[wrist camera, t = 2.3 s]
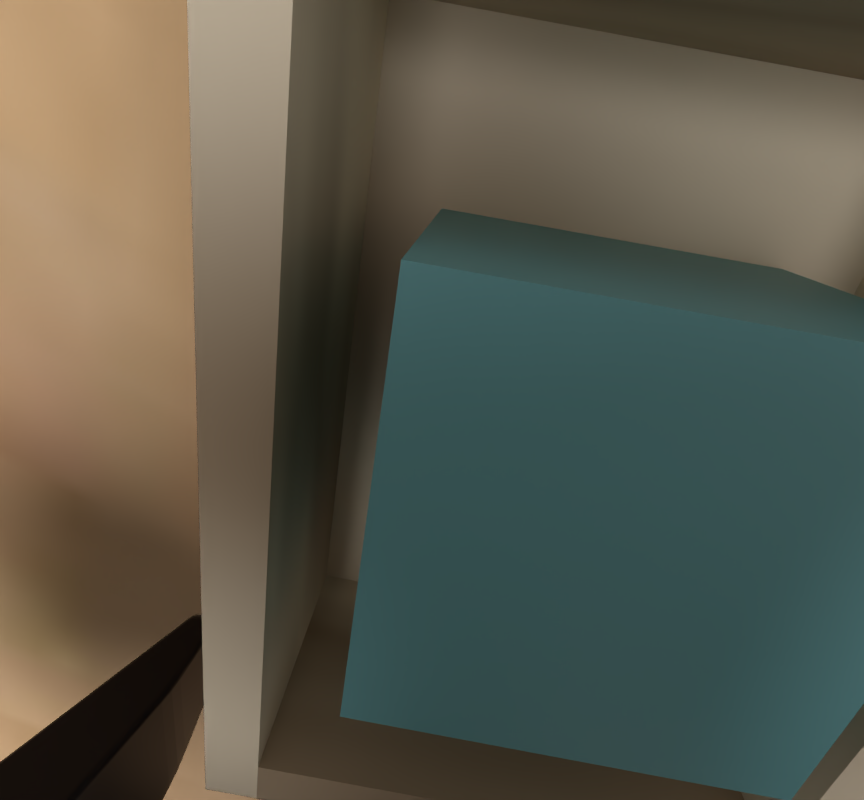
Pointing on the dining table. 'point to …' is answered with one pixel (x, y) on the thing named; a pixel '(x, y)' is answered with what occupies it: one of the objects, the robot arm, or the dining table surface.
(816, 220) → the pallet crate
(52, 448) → the dining table surface
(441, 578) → the cargo block
